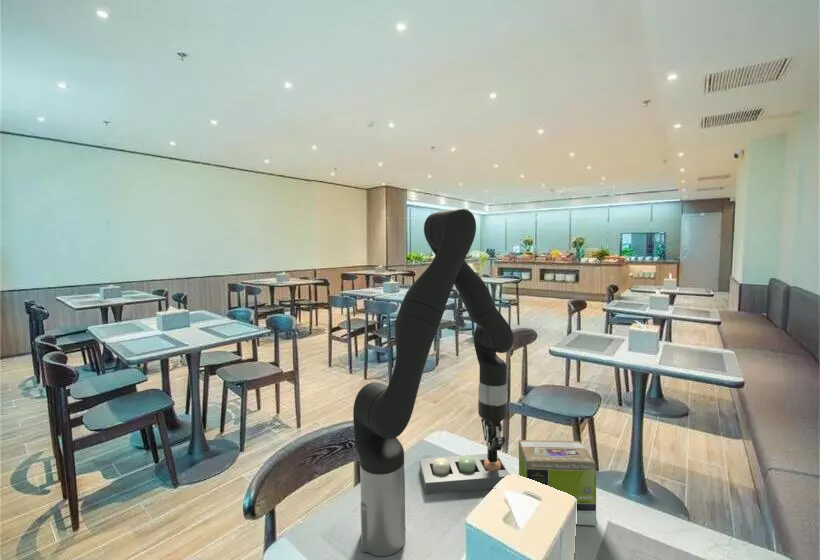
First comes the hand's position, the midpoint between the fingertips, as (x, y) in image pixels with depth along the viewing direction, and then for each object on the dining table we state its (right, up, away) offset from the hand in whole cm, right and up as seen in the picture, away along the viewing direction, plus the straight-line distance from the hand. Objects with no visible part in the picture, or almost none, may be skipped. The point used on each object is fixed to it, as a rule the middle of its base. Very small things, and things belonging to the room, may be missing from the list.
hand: (492, 460), depth 102 cm
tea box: (+12, -5, -13) cm, 19 cm away
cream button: (-14, -1, -1) cm, 14 cm away
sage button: (-7, -1, -1) cm, 7 cm away
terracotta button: (0, -2, 0) cm, 2 cm away
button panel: (-8, -4, 0) cm, 9 cm away
